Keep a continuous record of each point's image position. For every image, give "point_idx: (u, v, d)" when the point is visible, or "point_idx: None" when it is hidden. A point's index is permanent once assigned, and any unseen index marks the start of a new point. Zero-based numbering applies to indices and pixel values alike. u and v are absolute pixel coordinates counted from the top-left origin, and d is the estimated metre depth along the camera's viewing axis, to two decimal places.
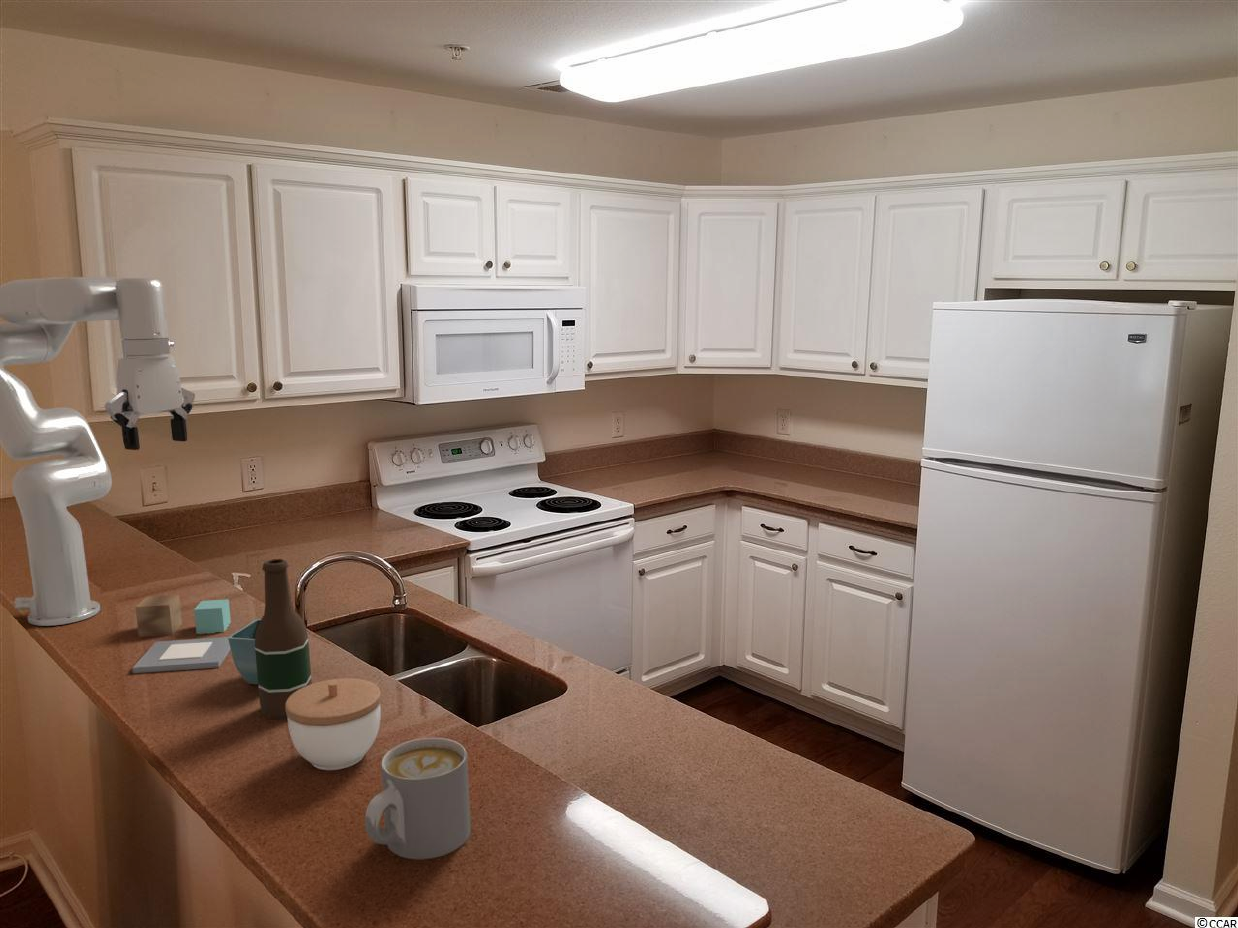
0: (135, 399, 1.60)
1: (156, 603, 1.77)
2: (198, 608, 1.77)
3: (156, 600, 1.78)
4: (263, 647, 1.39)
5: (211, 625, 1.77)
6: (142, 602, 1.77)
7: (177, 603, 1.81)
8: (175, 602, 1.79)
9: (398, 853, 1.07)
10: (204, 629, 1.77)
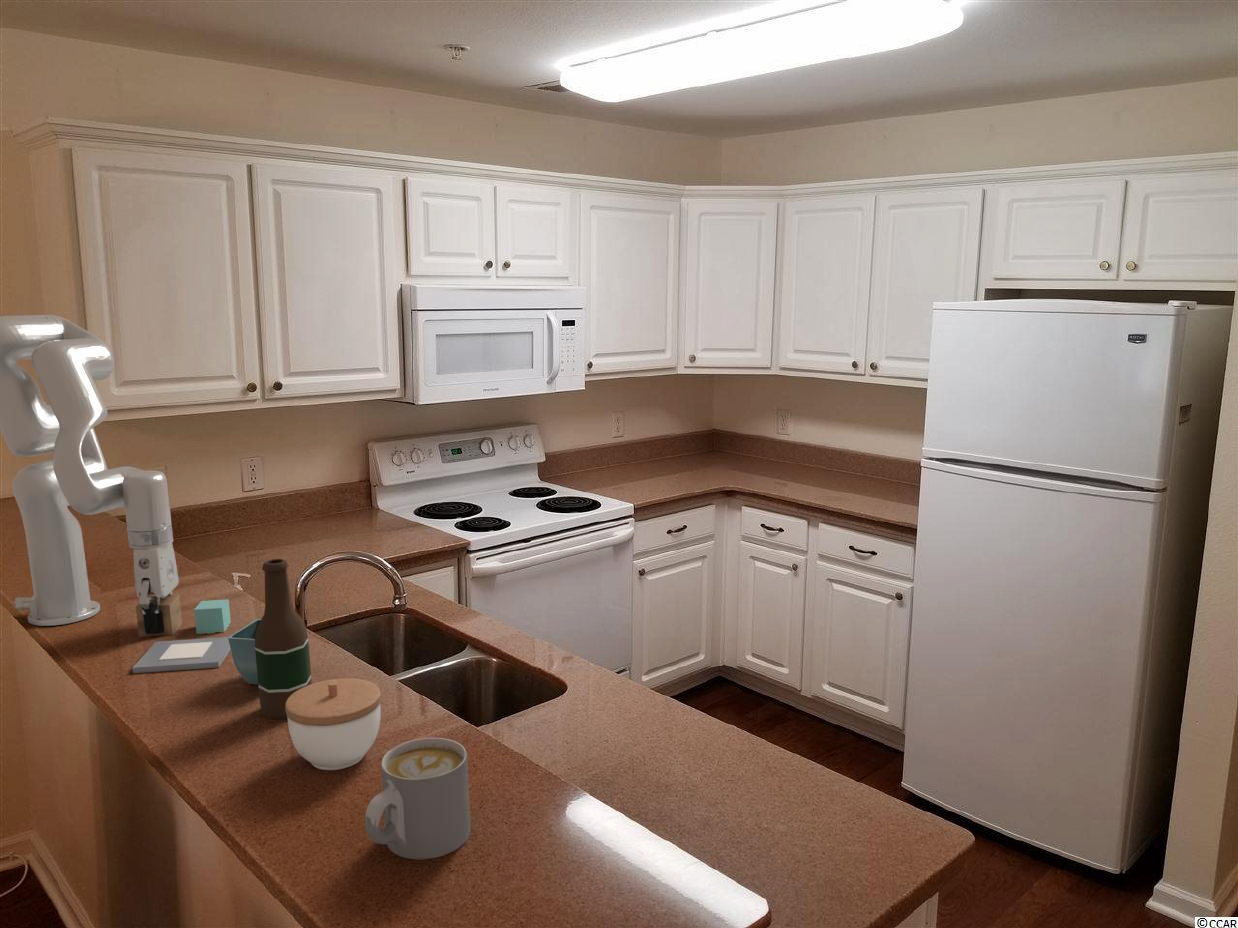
0: None
1: None
2: (198, 608, 1.77)
3: None
4: (263, 647, 1.39)
5: (211, 625, 1.77)
6: None
7: (177, 603, 1.81)
8: (175, 601, 1.79)
9: (398, 853, 1.07)
10: (204, 629, 1.77)
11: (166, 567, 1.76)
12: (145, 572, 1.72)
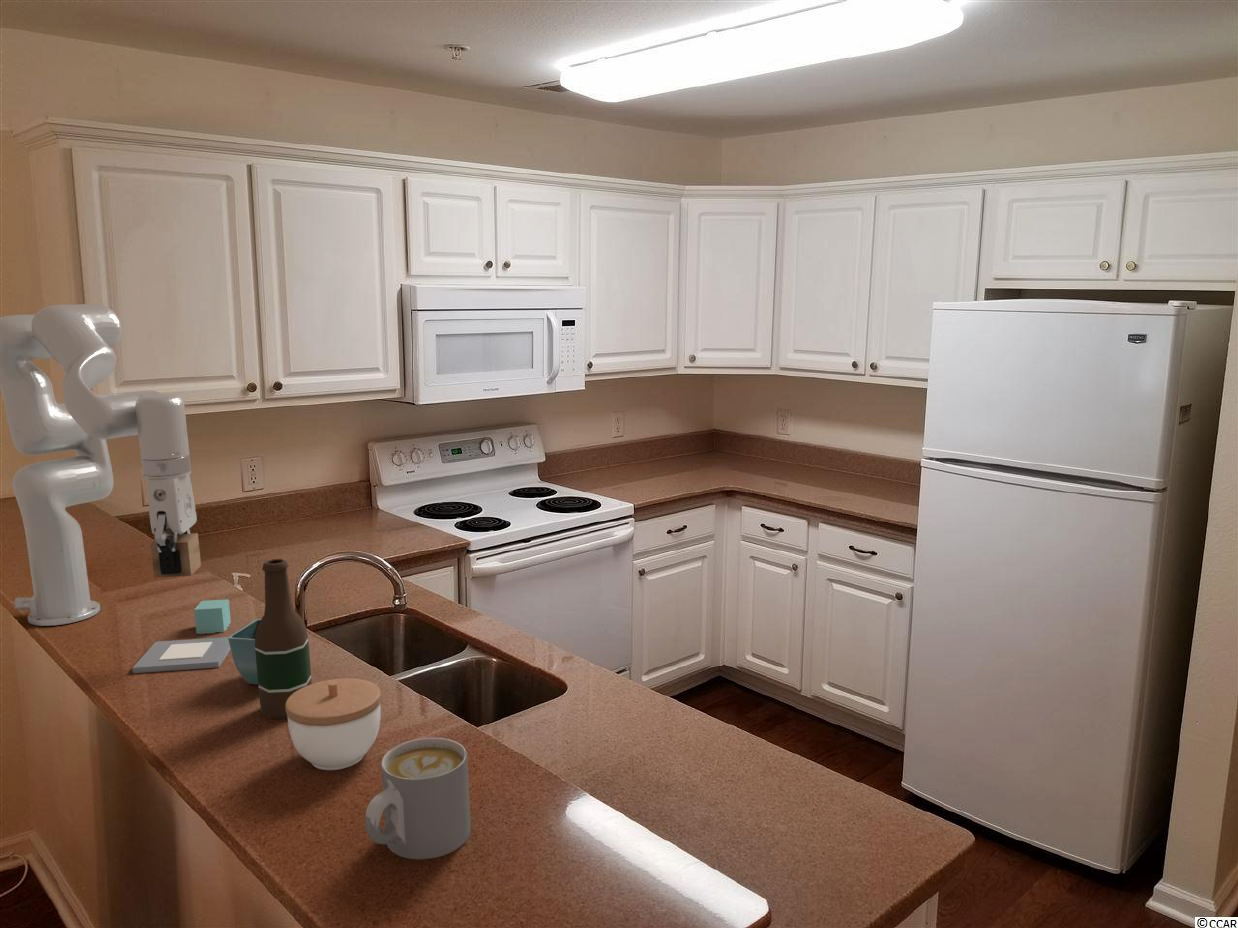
0: None
1: None
2: (198, 608, 1.77)
3: None
4: (263, 647, 1.39)
5: (211, 625, 1.77)
6: None
7: (196, 542, 1.64)
8: (193, 540, 1.63)
9: (398, 853, 1.07)
10: (204, 629, 1.77)
11: (184, 500, 1.59)
12: (160, 505, 1.56)
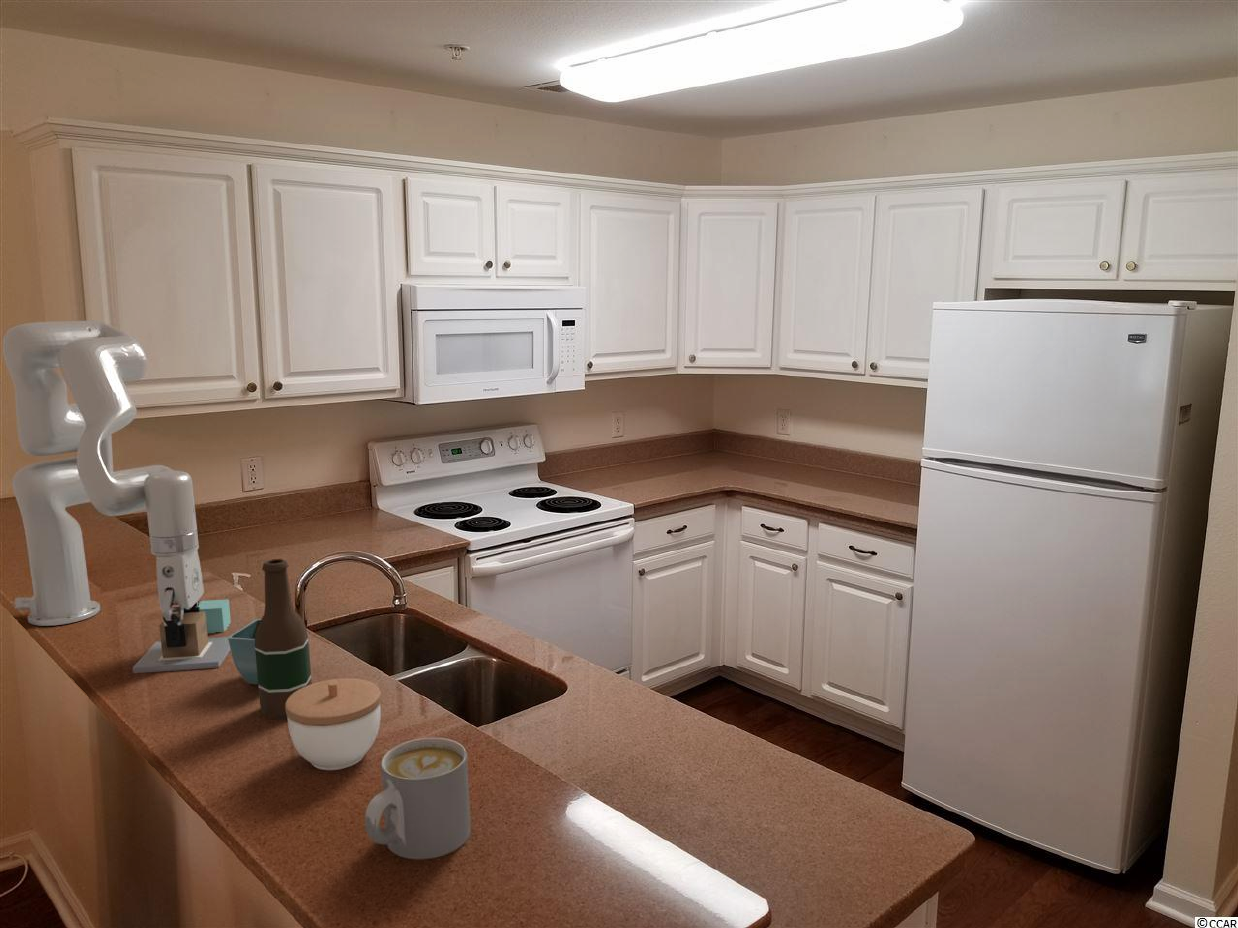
0: None
1: None
2: None
3: None
4: (263, 647, 1.39)
5: (211, 625, 1.77)
6: None
7: (203, 620, 1.67)
8: (201, 619, 1.66)
9: (398, 853, 1.07)
10: None
11: (192, 575, 1.62)
12: (168, 582, 1.58)
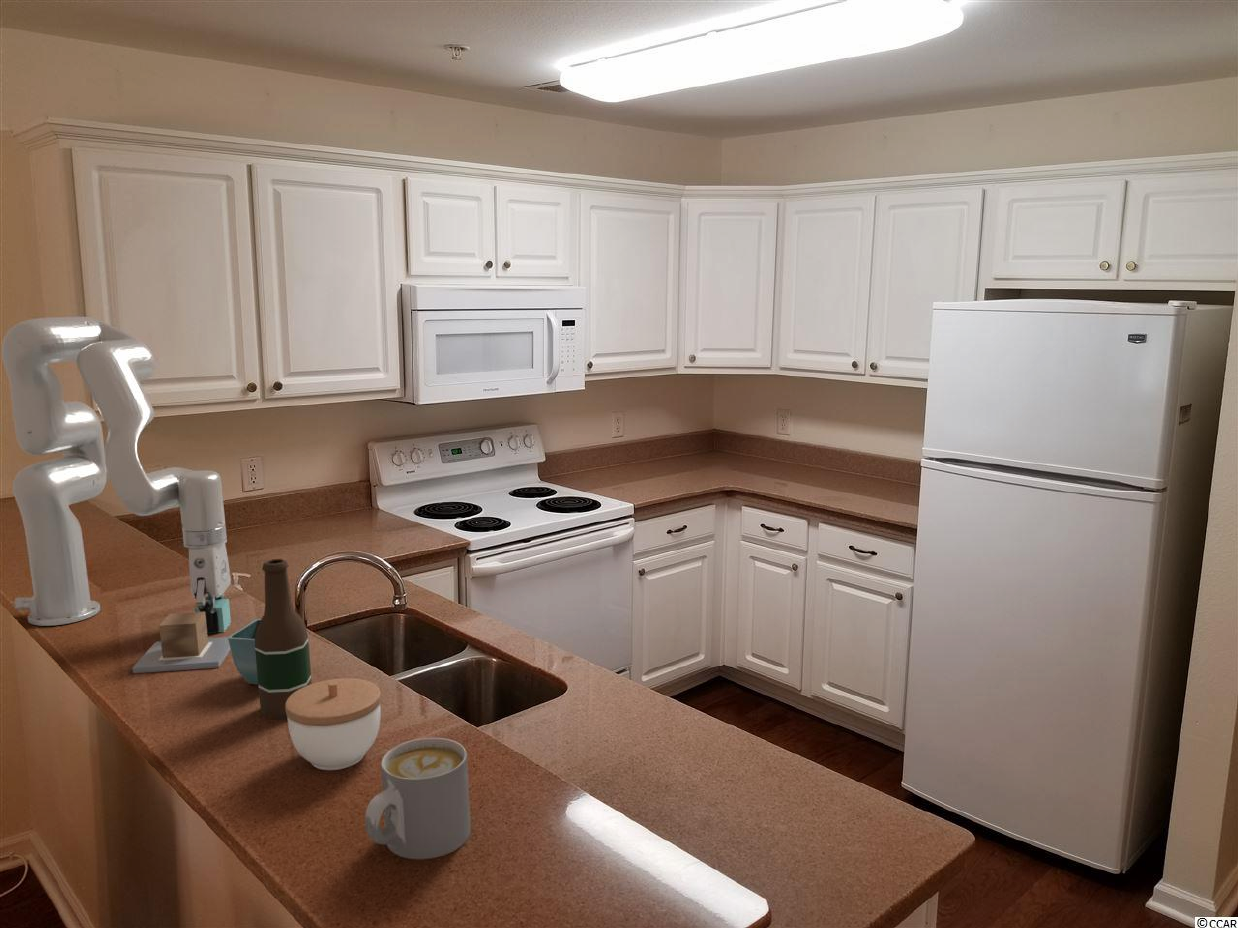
0: None
1: (181, 621, 1.63)
2: None
3: (181, 618, 1.65)
4: (263, 647, 1.39)
5: None
6: (166, 620, 1.64)
7: (203, 620, 1.67)
8: (201, 619, 1.66)
9: (398, 853, 1.07)
10: None
11: (220, 566, 1.76)
12: (200, 572, 1.72)
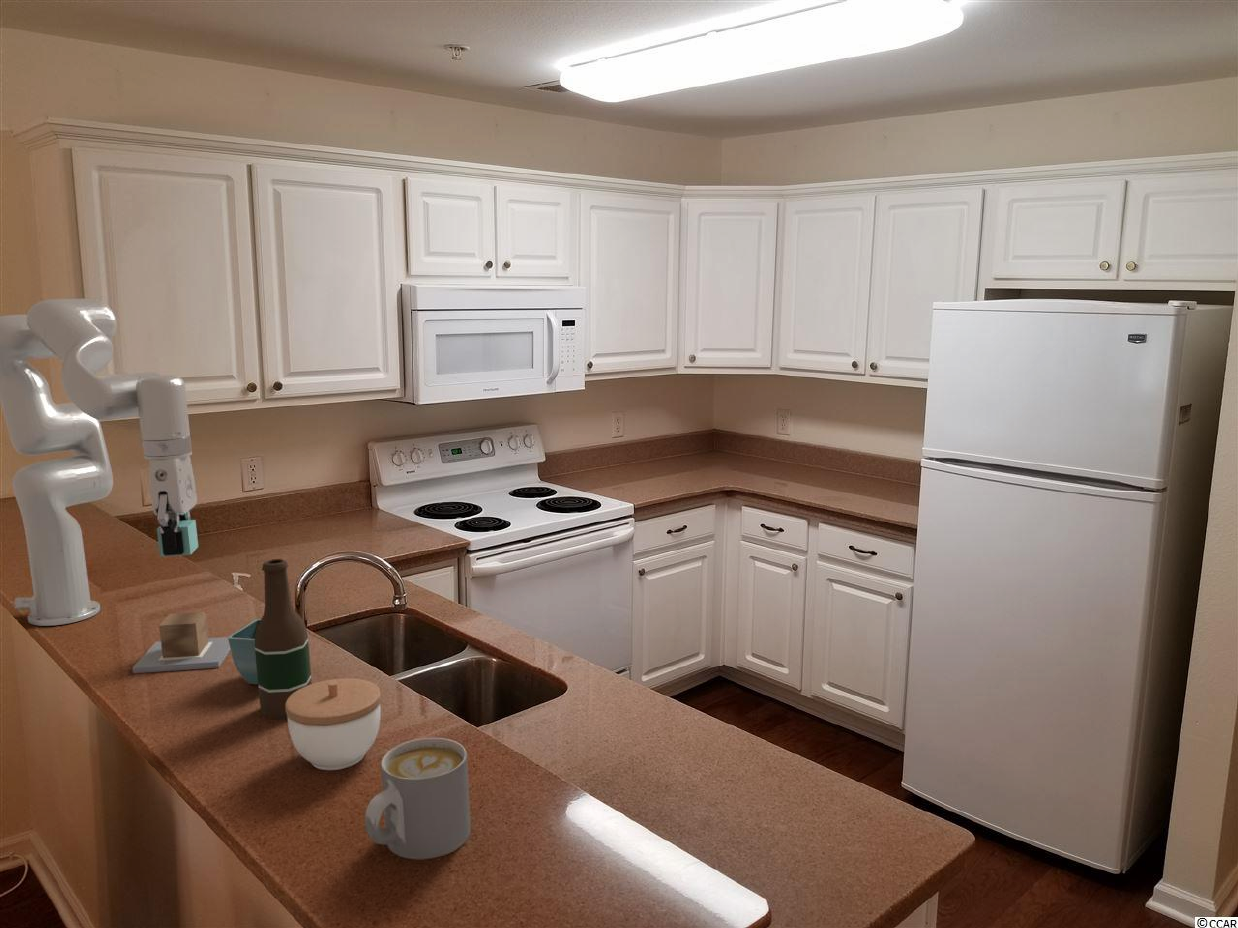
0: None
1: (181, 621, 1.63)
2: None
3: (181, 618, 1.65)
4: (263, 647, 1.39)
5: None
6: (166, 620, 1.64)
7: (203, 620, 1.67)
8: (201, 619, 1.66)
9: (398, 853, 1.07)
10: None
11: (185, 481, 1.60)
12: (162, 485, 1.56)
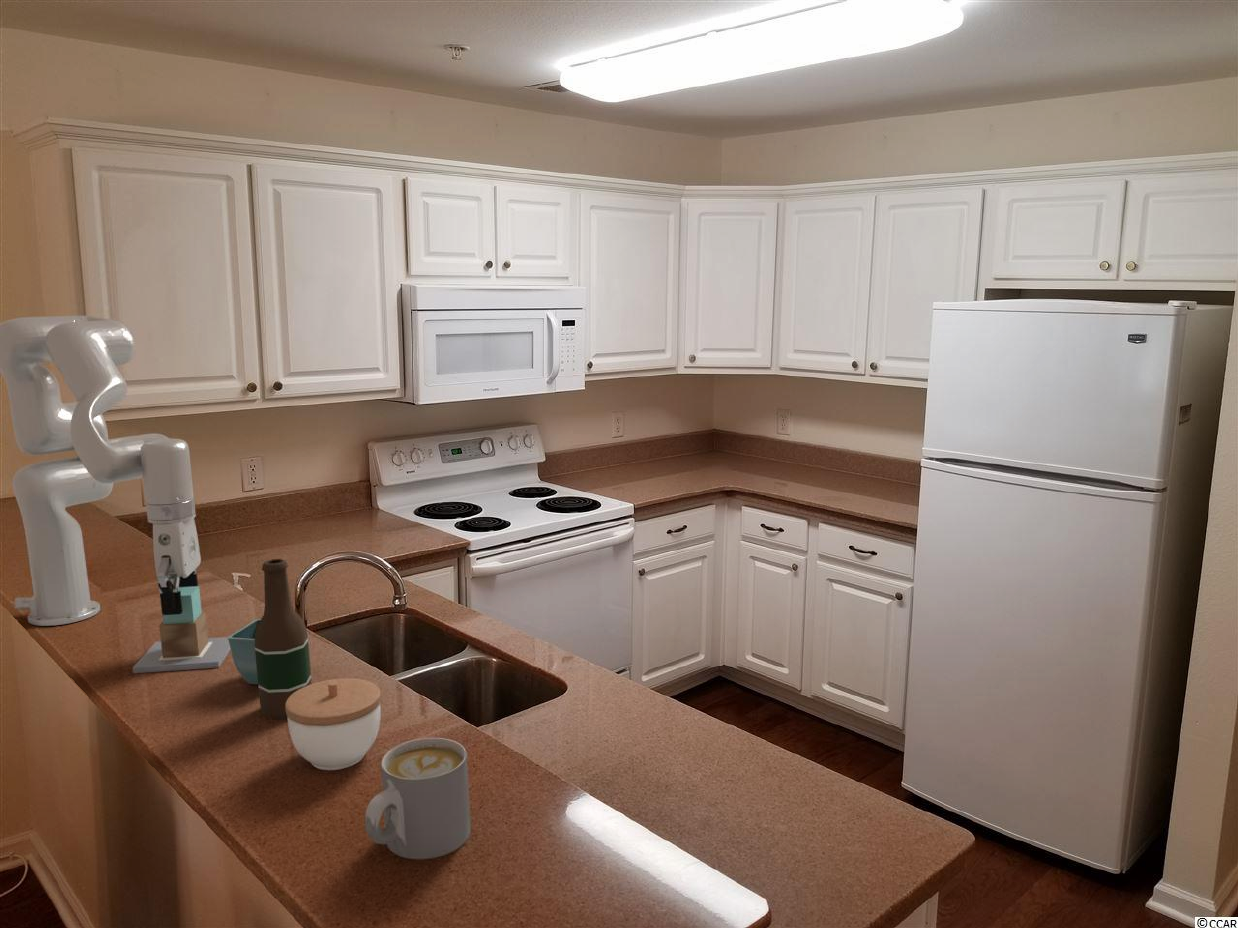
0: None
1: None
2: None
3: None
4: (263, 647, 1.39)
5: (179, 614, 1.62)
6: None
7: (203, 620, 1.67)
8: (201, 619, 1.66)
9: (398, 853, 1.07)
10: (172, 618, 1.62)
11: (188, 544, 1.61)
12: (165, 549, 1.57)
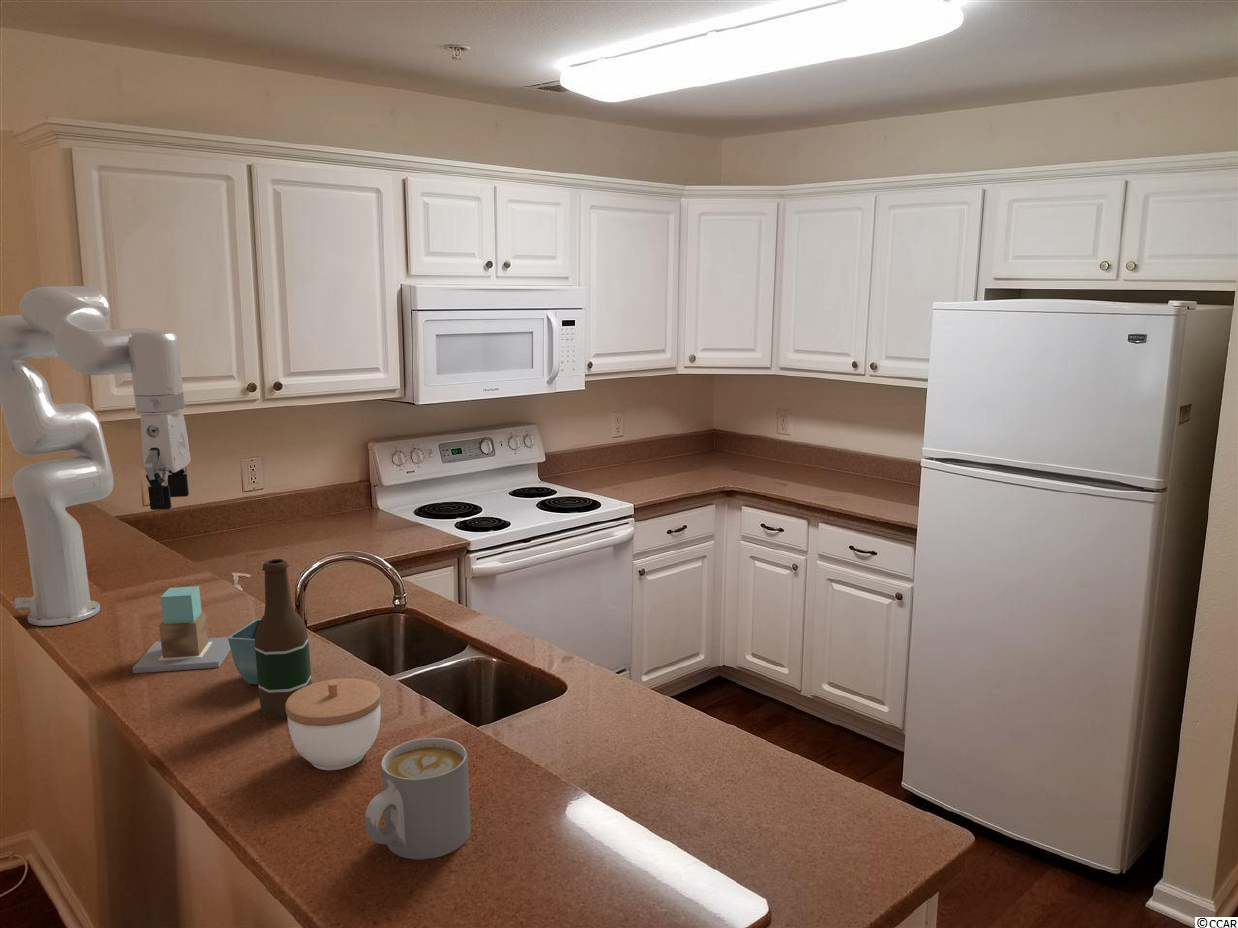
0: None
1: None
2: (165, 595, 1.62)
3: None
4: (263, 647, 1.39)
5: (179, 614, 1.62)
6: None
7: (203, 620, 1.67)
8: (201, 619, 1.66)
9: (398, 853, 1.07)
10: (172, 618, 1.62)
11: (177, 438, 1.57)
12: (153, 442, 1.54)
